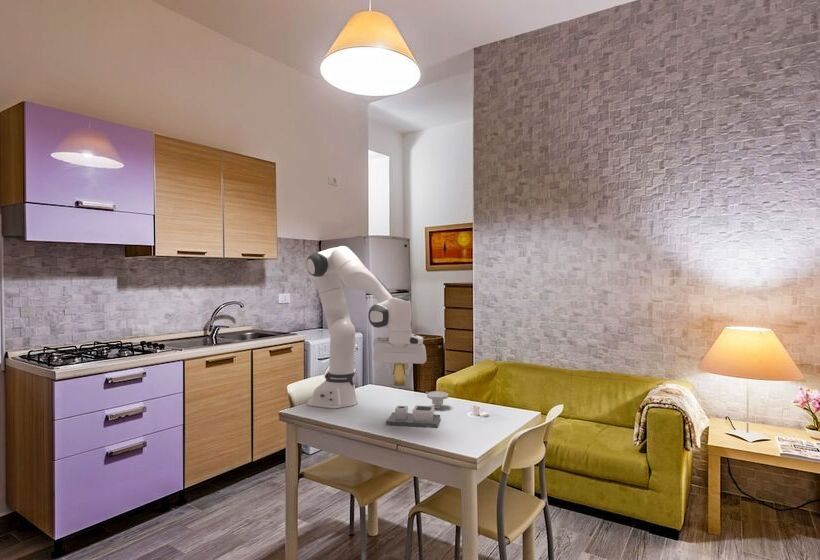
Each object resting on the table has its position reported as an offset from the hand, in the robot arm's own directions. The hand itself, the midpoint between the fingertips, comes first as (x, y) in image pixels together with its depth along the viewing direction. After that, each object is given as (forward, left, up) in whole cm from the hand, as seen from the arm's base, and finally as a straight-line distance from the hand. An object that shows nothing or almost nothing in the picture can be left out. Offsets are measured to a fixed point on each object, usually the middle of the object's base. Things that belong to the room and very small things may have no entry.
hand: (399, 374), depth 174 cm
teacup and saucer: (+29, +21, -22) cm, 41 cm away
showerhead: (+11, +31, -21) cm, 39 cm away
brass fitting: (0, 0, -4) cm, 4 cm away
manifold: (+4, +10, -21) cm, 23 cm away
